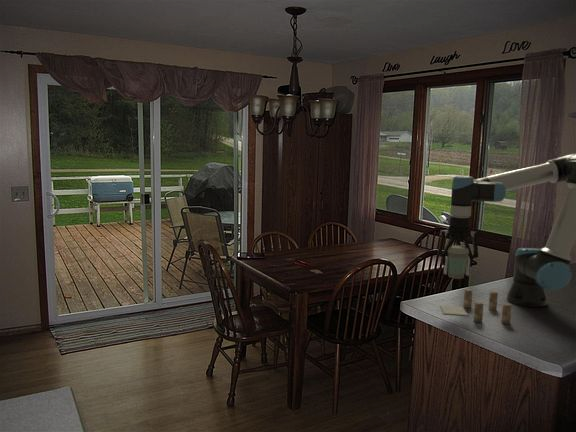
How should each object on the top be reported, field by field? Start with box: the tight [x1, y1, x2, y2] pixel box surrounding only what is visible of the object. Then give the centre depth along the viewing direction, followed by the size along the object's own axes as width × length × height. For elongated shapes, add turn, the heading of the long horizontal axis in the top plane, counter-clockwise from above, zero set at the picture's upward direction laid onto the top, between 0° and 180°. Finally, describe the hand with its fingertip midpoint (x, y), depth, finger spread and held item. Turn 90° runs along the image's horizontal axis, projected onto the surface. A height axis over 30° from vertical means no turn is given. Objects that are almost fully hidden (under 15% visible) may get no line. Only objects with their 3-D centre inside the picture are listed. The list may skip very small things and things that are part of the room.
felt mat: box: [439, 305, 469, 317], centre depth 190 cm, size 9×9×1 cm
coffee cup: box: [446, 244, 469, 280], centre depth 187 cm, size 8×8×12 cm
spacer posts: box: [462, 288, 512, 325], centre depth 186 cm, size 14×20×7 cm
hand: (456, 273), depth 188 cm, fingers closed on coffee cup, 8 cm apart
